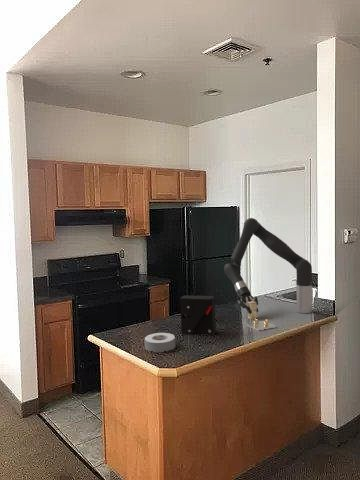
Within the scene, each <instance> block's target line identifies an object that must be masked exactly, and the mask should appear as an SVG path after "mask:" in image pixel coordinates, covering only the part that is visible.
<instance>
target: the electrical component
mask: <svg viewBox="0 0 360 480" xmlns="http://www.w3.org/2000/svg"><path fill="white" fill-rule="evenodd" d="M215 303H216V302H215V296H214V295H183V296H181V297H180V298H179V304H180V305H179V307H180V325H181V326H180V328H181V330H180V331H181V335H202V334H203V335H205V336H214V335H215V333H216V332H217V330H216V329H217V328H216V327H217V325H216V304H215Z"/></svg>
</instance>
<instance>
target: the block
mask: <svg viewBox="0 0 360 480" xmlns="http://www.w3.org/2000/svg"><path fill="white" fill-rule="evenodd" d="M248 305H249V307H250V309H251V311H252V313H251V314H249V313H248V312H247V319H249V320H251V319H252V320H255V319H256V318H257V319H258V312H257V308H258V305H257V302H254V301H251V302H248Z"/></svg>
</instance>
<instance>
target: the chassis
mask: <svg viewBox="0 0 360 480" xmlns="http://www.w3.org/2000/svg"><path fill="white" fill-rule="evenodd" d="M245 325H246V327H249V328H251V329H254V330H255V329H256V331H258V330H261V331H264V329H266V330H271V329H276V328H277V325H276V324H273V323H271V322H269V319H268V318H266V319H265V320H261V321H259V319H258V318H257V319H254V321H253V322H251V323H246V324H245ZM270 328H271V329H270Z"/></svg>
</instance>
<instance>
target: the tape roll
mask: <svg viewBox="0 0 360 480" xmlns="http://www.w3.org/2000/svg"><path fill="white" fill-rule="evenodd" d="M175 348H176V337H175V335H174V334H173V333H169V332H156V333H151V334H149V335H145V337H144V349H145V351H147V350H148V352H150V351H153V352H152V353H165V352H164V351H166V352H169V350H170V351H172V350H174V349H175Z"/></svg>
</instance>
